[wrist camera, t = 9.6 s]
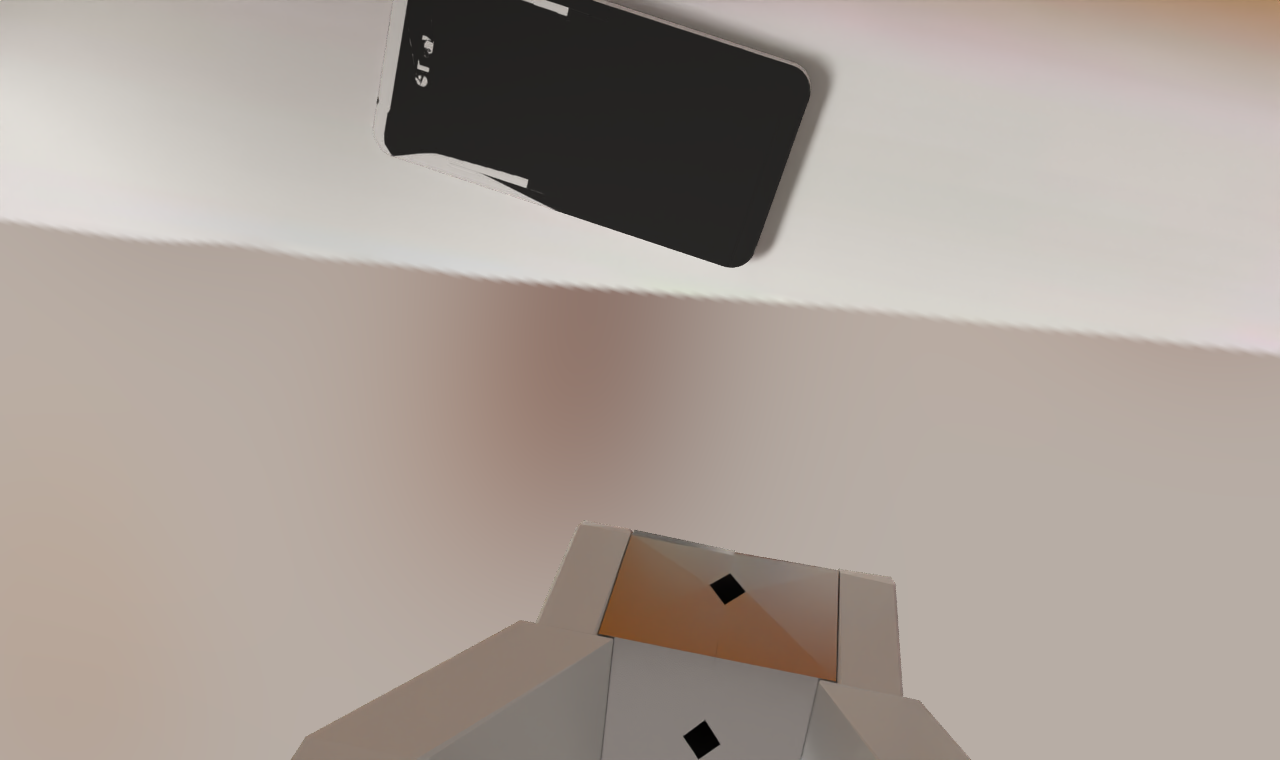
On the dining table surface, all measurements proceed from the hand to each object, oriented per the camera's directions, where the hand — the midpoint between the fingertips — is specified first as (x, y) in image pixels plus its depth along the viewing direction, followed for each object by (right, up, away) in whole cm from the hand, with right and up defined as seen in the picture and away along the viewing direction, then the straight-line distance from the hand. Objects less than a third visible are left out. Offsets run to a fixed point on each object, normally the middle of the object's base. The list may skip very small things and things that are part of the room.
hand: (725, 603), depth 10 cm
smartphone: (-3, +12, +28) cm, 31 cm away
